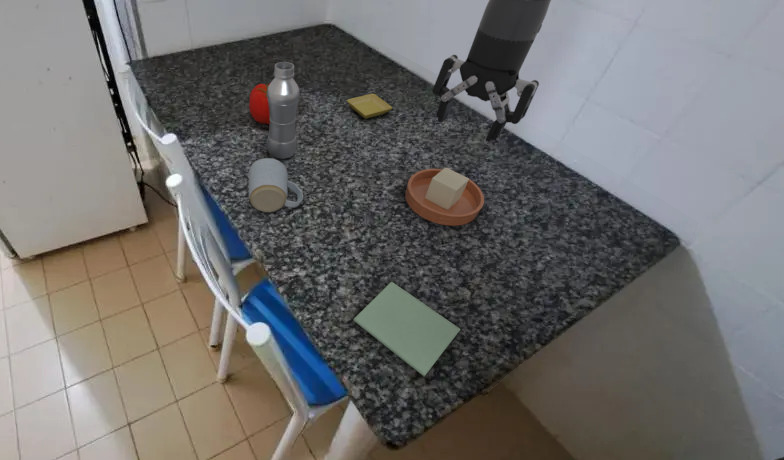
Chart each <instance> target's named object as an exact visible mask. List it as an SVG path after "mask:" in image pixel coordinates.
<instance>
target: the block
mask: <svg viewBox="0 0 784 460" xmlns="http://www.w3.org/2000/svg"><path fill="white" fill-rule="evenodd" d="M458 173H459V172H456V171H454V170H452V169H451V168H448V167H443V170H442V171H440V172H439V173H438V174H437V175H436V176H434V177H433V178H432V180H431V183H430V185H429V188H428V191H427V193H426V196H425V198H426V199H428V200H430V201H431V202H433V203H435V204H437V205H439V206H441V207H442V208H444V209H446V210H448V209H449V208H451V207H452V206H453V205H454V204H455V203H456V202H457V201H458V200H459V199H460V197H461V195H462V193H463V191H464V189H465V187H466V185H467V183H468V181H469V179H470V177H469V178H468V177H467V176H465V175H464V174H461V173H459V174H458ZM460 174H461V175H460Z"/></svg>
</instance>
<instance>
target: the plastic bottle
mask: <svg viewBox="0 0 784 460" xmlns="http://www.w3.org/2000/svg"><path fill="white" fill-rule="evenodd" d="M273 77H274V78H273V79H272V80H271V81H270V83H269V84H270V85H269V86H268V89H267V99H268V105H269V116H270V125H268V126H269V127H268V136H267V141H266V147H267V151H268V153H269V154H270V155H271V156H272V157H273V158H274V159H278V160H284V159H289V158H291V157H292V156H293V155H294V154H295V153H296V151H297V148H298V138H297V130H296V129H297V128H296V119H297V118H296V117H297V111H298V106H299V102H300V93H301V91H300V88H299V86H298V83H297V82H296V81H295V79H294V77H295V65H294V63H292V62H289V61H280V62H276V63H275V64H274V71H273Z"/></svg>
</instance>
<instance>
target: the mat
mask: <svg viewBox="0 0 784 460" xmlns="http://www.w3.org/2000/svg"><path fill="white" fill-rule="evenodd" d="M353 321H354V322H355V323H356V324H357V325H358V326H360V327H361V328H362V329H364V330H365V331H366V332H368V334H370V335H371V336H372V337H373V338H375V339H376V340H377V341H378V342H380V343H381V344H382V345H383V346H385V347H386V348H387V349H389V350H390V351H391V352H392V353H394V354H395V355H396V356H397V357H398V358H400V359H401V360H402V361H403V362H405V363H406V364H407V365H409V366H410V367H411V368H413V369H414V370H415V371H416V372H417V373H419V374H420V375H421V376H422V377H425V376H426V375H428V373H429V371H430V370H431V369H432V368H433V366H434V365H435V363H436V362H437V361H438V359H439V358H440V357H441V356H442V354H443V353H444V352H445V350H447V348H448V347H449V345H450V344H451V343H452V341H454V340H455V338H456V337H457V335H458V333H460V331H461V328H460V327H459V326H457V325H456V324H454V323H452V322H451V321H449V320H448V319H446V317H444V316H443V315H441V314H439V313H438V312H437V311H436V310H434V309H432V308H431V307H429V306H428V305H426V304H425V303H423V302H422V301H421V300H419V299H418V298H416V297H415V296H414V295H412V294H410V293H409V292H407V291H406V290H405V289H403V288H402V287H401V286H399V285H398V284H396V283H395V282H393V281H390V282H389V283H388V284H387V285H386V286H385V287H384V288H383V289H382V290H381V291H380V292H379V293H378V294H377V295H376V296H375V297H374V298H373V299H372V300H371V301H370V302H369V303H368V304H367V305H366V306H365V307H364V308H363V309H362V310H361V311H360V312H359V313H358V314H357V315H356V316H355V317H354V318H353Z"/></svg>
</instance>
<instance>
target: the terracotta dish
mask: <svg viewBox="0 0 784 460" xmlns="http://www.w3.org/2000/svg"><path fill="white" fill-rule="evenodd" d="M443 169H444V168H443ZM443 169H442V168H426V169H422V170H419V171H417V172H415V173H413V174H412V175H411V176H410V177H409V179H408V181H407V184H406V187H405V191H404V197H405V202H406V203H407V205H408V207H409V208H410V209H411V210H412V211H413V212H414V213H416V214H417V215H418V216H419V217H421V218H422V219H425V220H426V221H428V222H431V223H435V224H438V225H440V226H441V225H443V226H451V227H458V226H463V225H467V224H470V223H472V222H473V221H474V220H475V219H476V218H477V217H478V216H479V214H480V212H481V210H482V208H483V207H484V203H485V196H484V193H483V192H482V189H481V187H479V186H478V185H477V184H476V183H475V181H473V180H471V179H470V178H469V181H468V183H467V185H466V187H465V189H464V191H463V193H462V195H461V197H460V199H459V200H458V201H457V202H456V203H455V204H454V205H453V206H452V207H451V208H449V209H448V210H446V209H444V208H442V207H441V206H439V205H437V204H435V203H433V202H431V201H430V200H428V199H426V198H425V196H426V193H427V191H428V188H429V185H430V183H431V180H432V178H433V177H434V176H436V175H437V174H438V173H439V172H440V171H442V170H443ZM457 173H458V174H460V175H462V174H461V173H459V172H457Z"/></svg>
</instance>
